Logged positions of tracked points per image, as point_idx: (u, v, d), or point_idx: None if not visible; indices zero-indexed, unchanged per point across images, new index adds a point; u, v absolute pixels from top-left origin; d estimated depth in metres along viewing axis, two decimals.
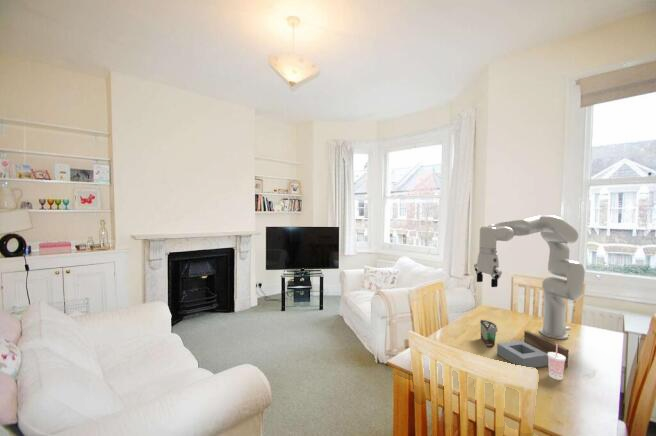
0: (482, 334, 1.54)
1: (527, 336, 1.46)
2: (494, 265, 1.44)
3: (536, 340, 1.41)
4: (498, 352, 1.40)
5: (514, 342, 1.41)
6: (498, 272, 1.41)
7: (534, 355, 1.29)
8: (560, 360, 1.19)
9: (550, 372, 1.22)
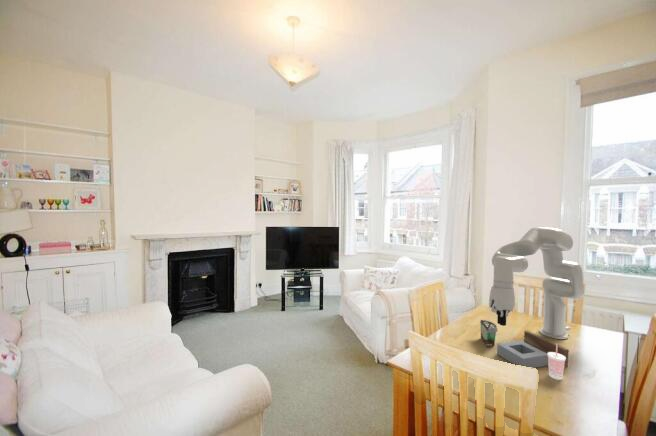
0: (482, 334, 1.54)
1: (527, 336, 1.46)
2: None
3: (536, 340, 1.41)
4: (498, 352, 1.40)
5: (514, 342, 1.41)
6: (511, 309, 1.32)
7: (534, 355, 1.29)
8: (560, 360, 1.19)
9: (550, 372, 1.22)
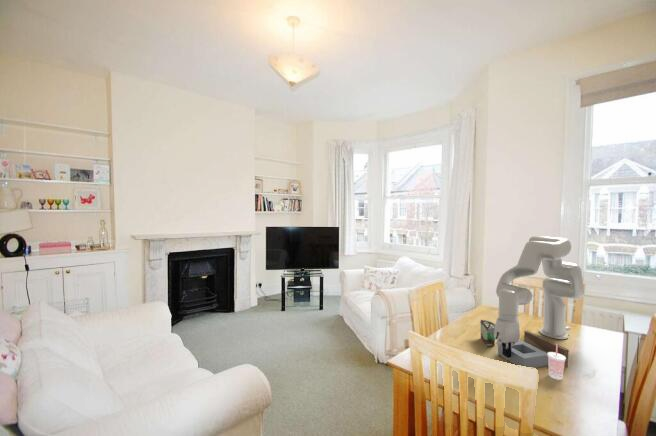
0: (482, 334, 1.54)
1: (527, 336, 1.46)
2: None
3: (536, 340, 1.41)
4: (499, 352, 1.40)
5: None
6: None
7: (535, 355, 1.29)
8: (560, 360, 1.19)
9: (550, 372, 1.22)
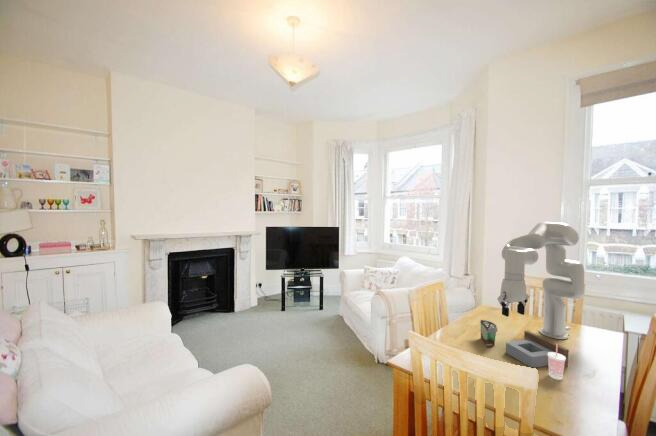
0: (482, 334, 1.54)
1: (527, 336, 1.46)
2: None
3: (536, 340, 1.41)
4: (507, 351, 1.41)
5: (522, 341, 1.43)
6: (527, 296, 1.34)
7: (543, 354, 1.30)
8: (560, 360, 1.19)
9: (550, 372, 1.22)
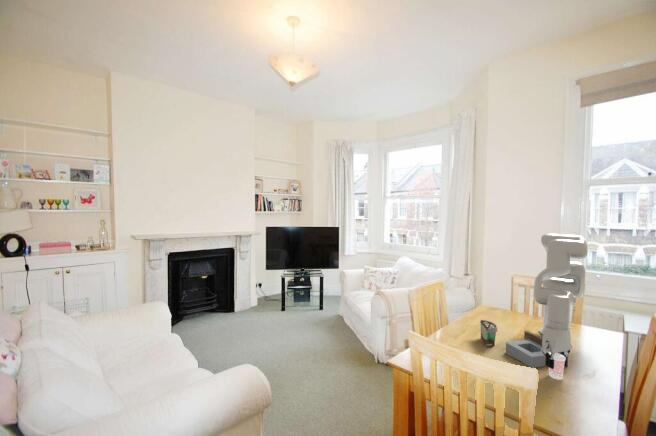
0: (482, 334, 1.54)
1: (527, 336, 1.46)
2: None
3: (536, 340, 1.41)
4: (507, 351, 1.41)
5: (522, 341, 1.43)
6: (570, 347, 1.23)
7: (543, 354, 1.30)
8: (560, 360, 1.19)
9: (550, 372, 1.22)
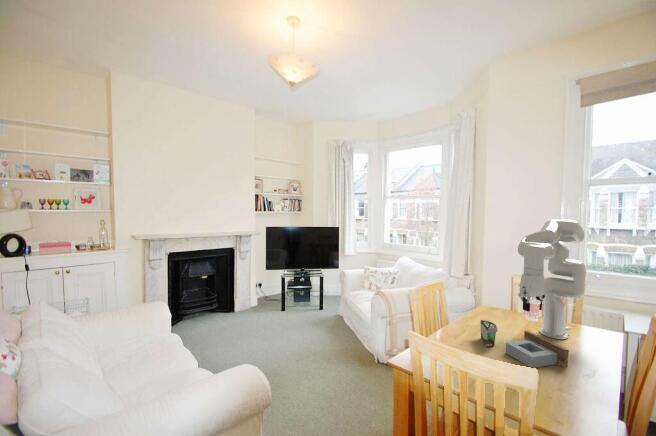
0: (482, 334, 1.54)
1: (527, 336, 1.46)
2: None
3: (536, 340, 1.41)
4: (507, 351, 1.41)
5: (522, 341, 1.43)
6: (545, 292, 1.36)
7: (543, 354, 1.30)
8: (535, 303, 1.33)
9: (527, 315, 1.35)
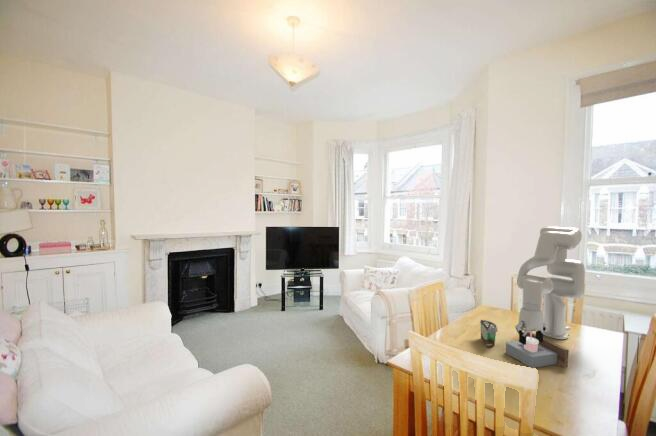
0: (482, 334, 1.54)
1: (527, 336, 1.46)
2: None
3: None
4: (507, 351, 1.41)
5: None
6: (545, 324, 1.37)
7: (543, 354, 1.30)
8: (533, 343, 1.34)
9: None
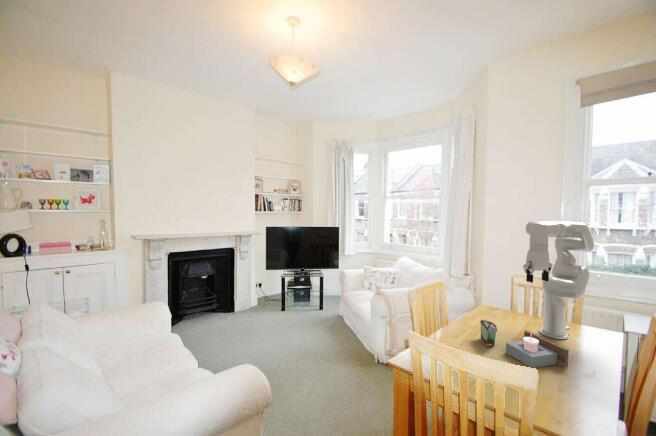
0: (482, 334, 1.54)
1: (527, 336, 1.46)
2: None
3: None
4: (507, 351, 1.41)
5: (522, 341, 1.43)
6: (551, 265, 1.48)
7: (543, 354, 1.30)
8: (533, 343, 1.34)
9: None
